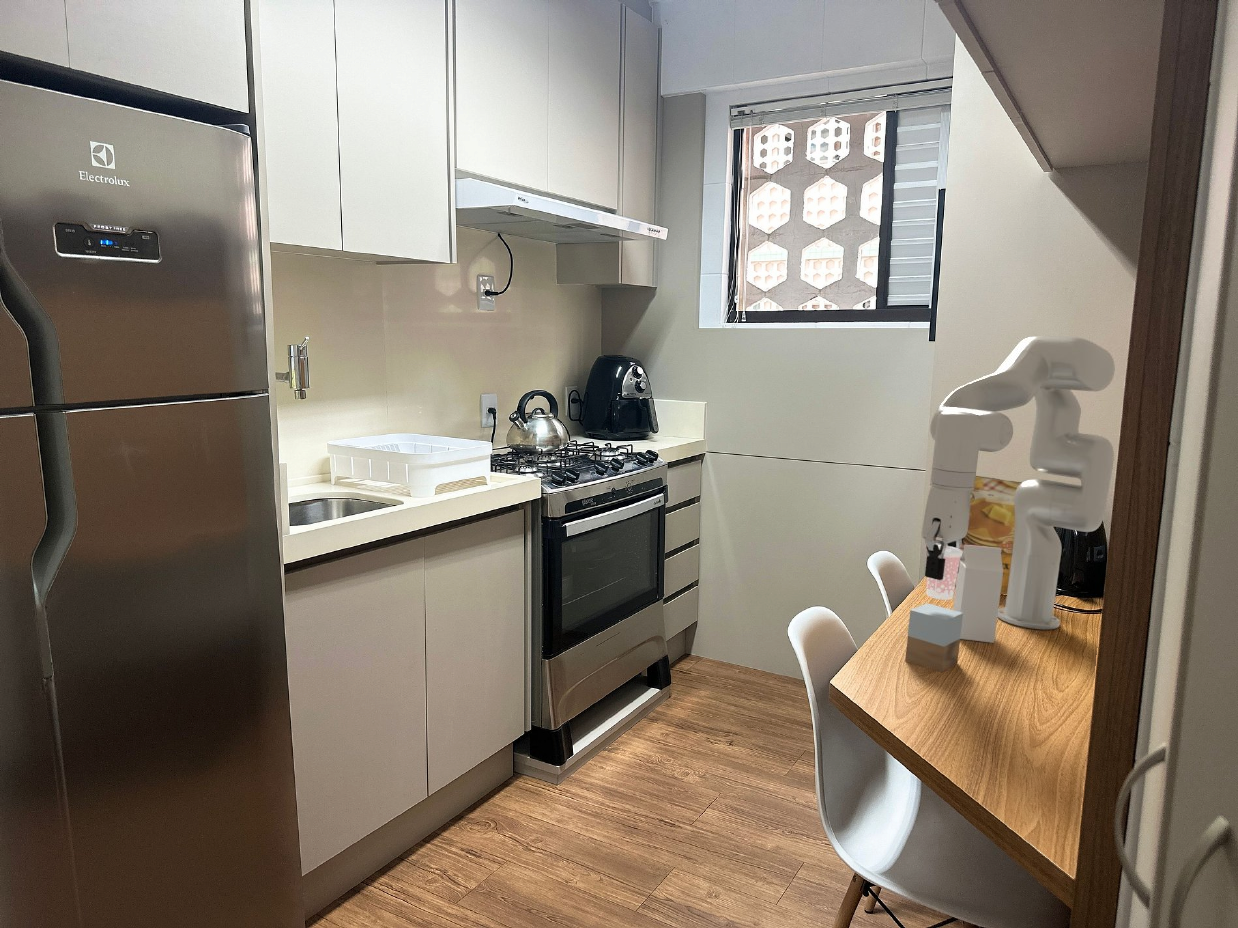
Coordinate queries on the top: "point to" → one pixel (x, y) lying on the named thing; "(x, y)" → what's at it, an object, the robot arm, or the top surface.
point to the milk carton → (979, 592)
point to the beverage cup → (945, 576)
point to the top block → (935, 624)
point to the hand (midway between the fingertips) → (941, 574)
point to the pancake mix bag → (993, 519)
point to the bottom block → (932, 654)
